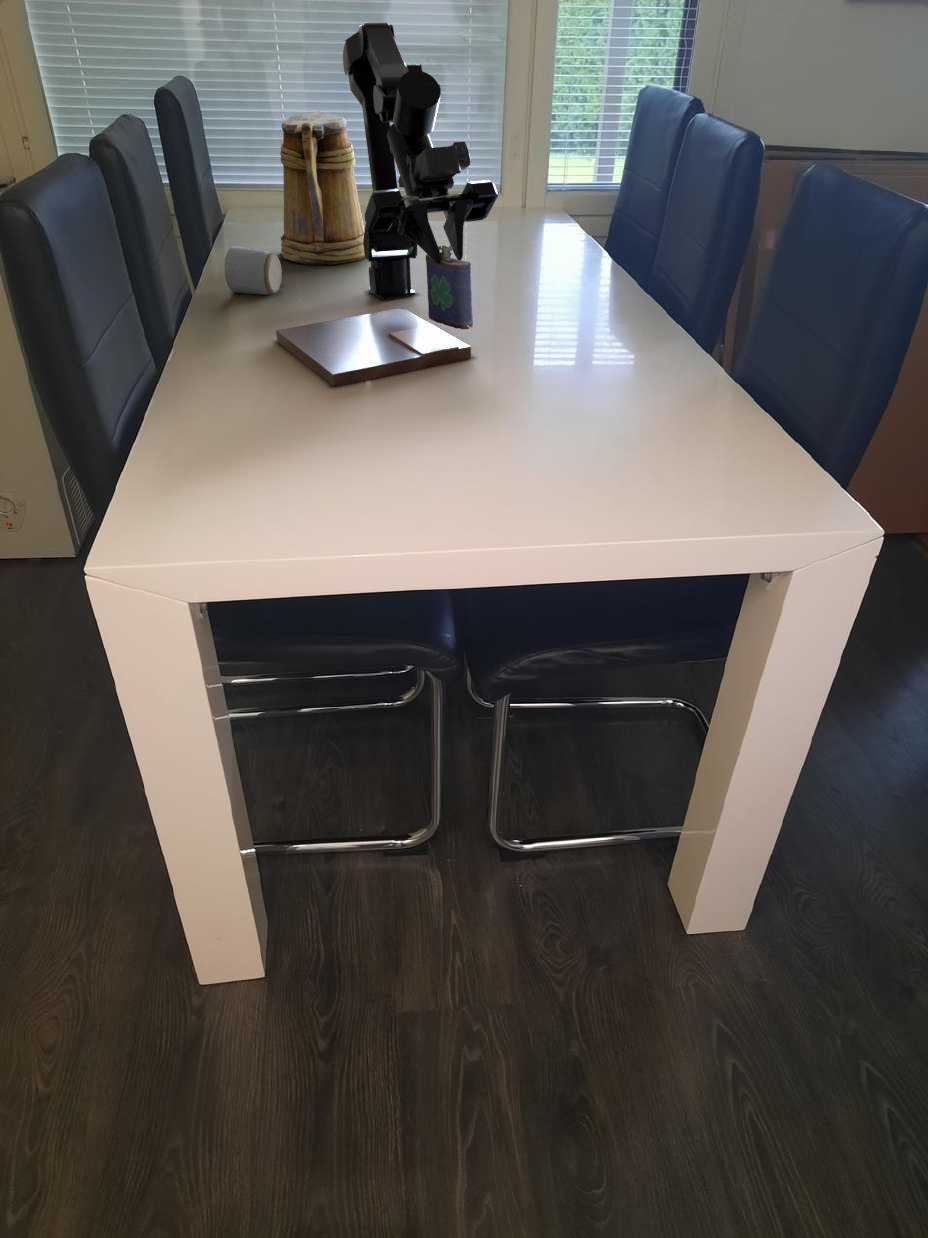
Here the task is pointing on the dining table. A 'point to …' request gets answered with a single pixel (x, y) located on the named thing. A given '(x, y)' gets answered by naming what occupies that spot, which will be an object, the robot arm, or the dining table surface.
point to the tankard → (320, 191)
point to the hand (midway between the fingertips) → (449, 260)
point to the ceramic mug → (252, 271)
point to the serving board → (371, 346)
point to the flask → (449, 290)
